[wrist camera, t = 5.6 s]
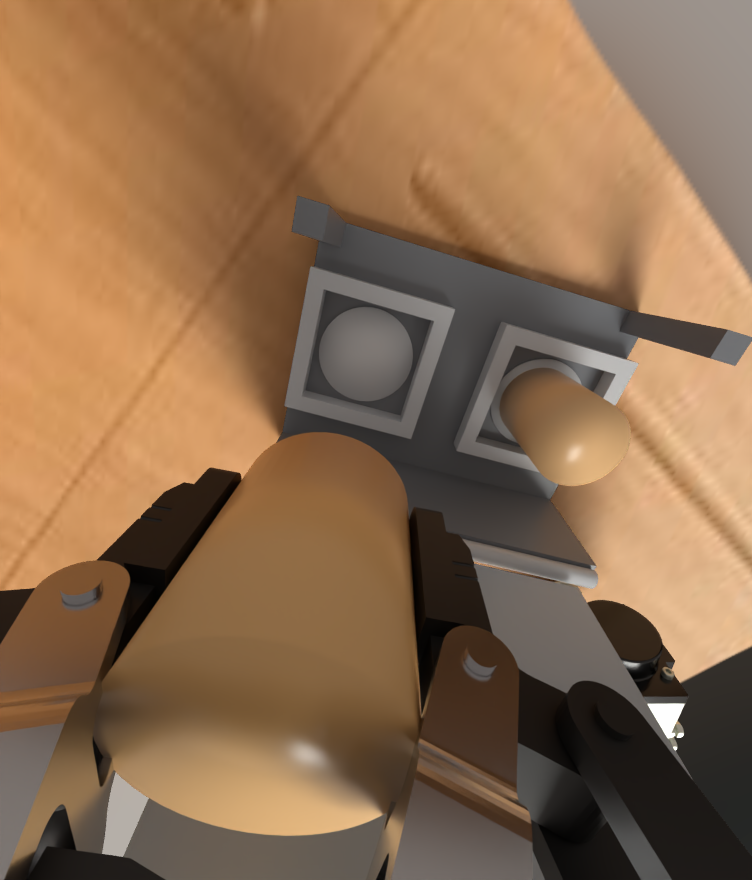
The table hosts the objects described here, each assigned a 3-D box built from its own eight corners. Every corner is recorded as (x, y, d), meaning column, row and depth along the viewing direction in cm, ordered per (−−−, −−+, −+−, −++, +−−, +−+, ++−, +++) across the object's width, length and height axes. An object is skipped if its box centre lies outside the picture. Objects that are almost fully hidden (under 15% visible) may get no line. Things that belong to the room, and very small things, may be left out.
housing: (283, 441, 27) (242, 513, 19) (326, 217, 21) (293, 192, 14) (537, 505, 29) (594, 594, 21) (639, 314, 23) (766, 340, 16)
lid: (274, 506, 19) (269, 529, 19) (64, 976, 6) (68, 1001, 7) (583, 579, 20) (570, 598, 21) (894, 1072, 8) (841, 1086, 8)
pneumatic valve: (515, 647, 35) (575, 821, 24) (532, 542, 30) (616, 701, 19) (578, 647, 35) (667, 822, 24) (605, 541, 30) (731, 700, 19)
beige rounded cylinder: (247, 416, 10) (68, 605, 4) (425, 450, 10) (465, 672, 5) (239, 556, 12) (105, 812, 6) (389, 583, 12) (386, 852, 7)
